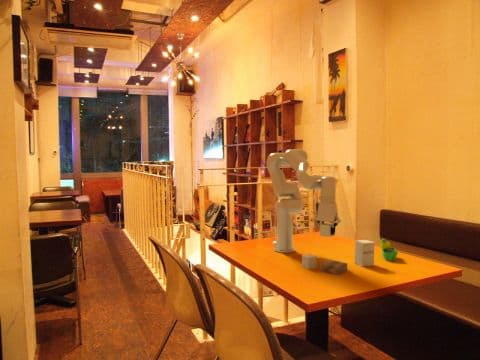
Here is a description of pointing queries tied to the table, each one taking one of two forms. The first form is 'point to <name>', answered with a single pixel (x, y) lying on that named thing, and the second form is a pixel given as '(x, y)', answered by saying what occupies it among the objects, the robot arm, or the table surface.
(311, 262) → the grey block
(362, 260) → the supplement box
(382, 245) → the fruit basket
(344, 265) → the walnut base
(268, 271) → the table surface
